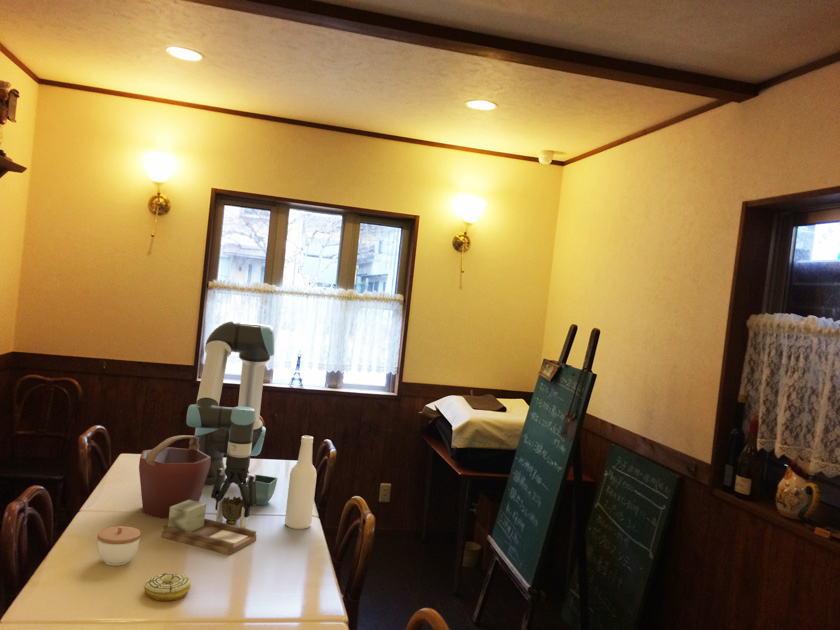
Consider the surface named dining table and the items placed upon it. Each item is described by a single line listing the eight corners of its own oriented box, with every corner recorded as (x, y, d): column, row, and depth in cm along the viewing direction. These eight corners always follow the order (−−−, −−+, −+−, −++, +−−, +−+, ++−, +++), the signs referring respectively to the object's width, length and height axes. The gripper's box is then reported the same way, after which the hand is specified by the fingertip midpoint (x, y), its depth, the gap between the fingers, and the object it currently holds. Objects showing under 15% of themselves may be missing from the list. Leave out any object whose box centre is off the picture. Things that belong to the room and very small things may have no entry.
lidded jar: (90, 556, 183) (94, 522, 182) (132, 551, 189) (135, 518, 189) (99, 571, 174) (103, 536, 174) (142, 565, 181) (146, 531, 180)
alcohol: (314, 528, 223) (324, 439, 223) (289, 530, 219) (299, 439, 218) (305, 519, 231) (314, 433, 230) (280, 521, 226) (290, 433, 226)
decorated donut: (163, 581, 174) (165, 566, 173) (198, 591, 170) (199, 576, 170) (134, 596, 164) (136, 580, 164) (170, 607, 160) (172, 591, 160)
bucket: (181, 495, 242) (188, 427, 241) (221, 512, 229) (229, 439, 229) (118, 508, 221) (126, 433, 221) (158, 527, 209) (166, 448, 208)
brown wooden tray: (161, 536, 202) (164, 509, 202) (191, 523, 215) (193, 497, 215) (229, 554, 194) (233, 525, 194) (256, 540, 208) (259, 513, 207)
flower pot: (275, 501, 247) (278, 477, 247) (267, 508, 238) (270, 483, 238) (252, 498, 248) (255, 474, 248) (243, 505, 239) (246, 480, 239)
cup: (221, 528, 214) (224, 503, 214) (217, 520, 221) (220, 496, 220) (245, 527, 218) (247, 502, 217) (240, 519, 224) (242, 495, 224)
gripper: (204, 451, 218) (196, 519, 219) (260, 462, 212) (252, 533, 212) (217, 447, 225) (210, 513, 226) (273, 458, 219) (265, 527, 219)
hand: (231, 523), depth 219 cm, fingers open, 8 cm apart
